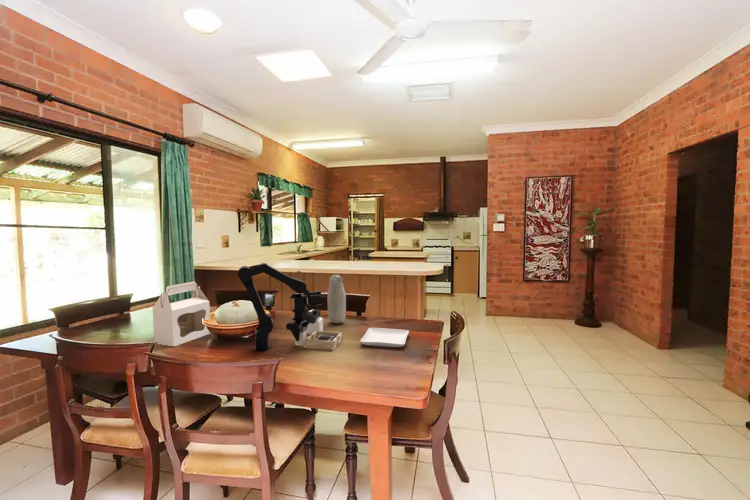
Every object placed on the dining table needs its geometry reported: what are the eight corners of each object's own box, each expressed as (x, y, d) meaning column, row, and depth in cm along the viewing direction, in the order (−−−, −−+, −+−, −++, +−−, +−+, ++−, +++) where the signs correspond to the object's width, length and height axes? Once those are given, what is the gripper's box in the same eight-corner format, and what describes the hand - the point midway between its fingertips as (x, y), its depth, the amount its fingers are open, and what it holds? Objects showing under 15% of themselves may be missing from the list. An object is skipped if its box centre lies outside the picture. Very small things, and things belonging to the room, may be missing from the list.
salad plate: (404, 350, 158) (404, 343, 157) (359, 347, 162) (359, 340, 162) (409, 336, 178) (409, 329, 178) (369, 333, 183) (369, 327, 182)
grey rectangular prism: (303, 345, 164) (302, 329, 163) (295, 345, 165) (294, 328, 164) (306, 343, 168) (306, 326, 167) (298, 342, 169) (298, 326, 168)
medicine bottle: (323, 330, 187) (322, 308, 186) (319, 334, 180) (319, 312, 179) (310, 330, 188) (309, 308, 187) (306, 334, 181) (305, 311, 180)
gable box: (173, 347, 163) (169, 288, 161) (153, 343, 168) (150, 286, 166) (211, 333, 184) (209, 280, 182) (193, 330, 189) (190, 279, 187)
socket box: (333, 350, 158) (333, 341, 158) (304, 348, 161) (304, 340, 160) (342, 340, 172) (342, 332, 171) (315, 338, 174) (315, 330, 174)
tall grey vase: (349, 322, 203) (348, 274, 201) (338, 326, 194) (337, 276, 192) (335, 319, 208) (335, 273, 206) (324, 323, 200) (323, 275, 197)
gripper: (308, 312, 154) (309, 346, 155) (323, 303, 172) (323, 333, 174) (285, 311, 157) (285, 345, 158) (302, 302, 175) (302, 332, 176)
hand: (300, 338), depth 166 cm, fingers open, 7 cm apart
